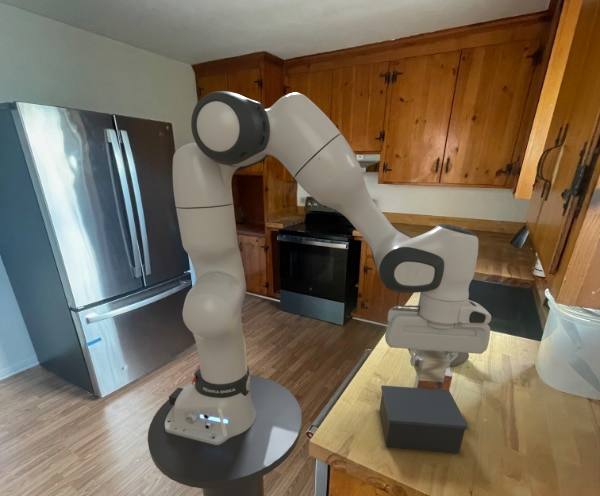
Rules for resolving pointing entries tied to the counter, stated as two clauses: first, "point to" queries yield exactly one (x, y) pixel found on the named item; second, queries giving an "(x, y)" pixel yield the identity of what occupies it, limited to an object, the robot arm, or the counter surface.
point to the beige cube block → (431, 365)
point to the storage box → (421, 419)
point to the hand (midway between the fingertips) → (429, 365)
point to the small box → (435, 385)
